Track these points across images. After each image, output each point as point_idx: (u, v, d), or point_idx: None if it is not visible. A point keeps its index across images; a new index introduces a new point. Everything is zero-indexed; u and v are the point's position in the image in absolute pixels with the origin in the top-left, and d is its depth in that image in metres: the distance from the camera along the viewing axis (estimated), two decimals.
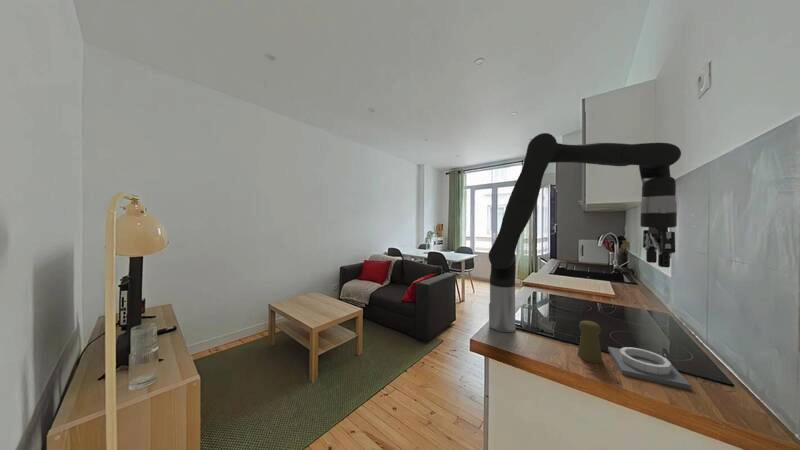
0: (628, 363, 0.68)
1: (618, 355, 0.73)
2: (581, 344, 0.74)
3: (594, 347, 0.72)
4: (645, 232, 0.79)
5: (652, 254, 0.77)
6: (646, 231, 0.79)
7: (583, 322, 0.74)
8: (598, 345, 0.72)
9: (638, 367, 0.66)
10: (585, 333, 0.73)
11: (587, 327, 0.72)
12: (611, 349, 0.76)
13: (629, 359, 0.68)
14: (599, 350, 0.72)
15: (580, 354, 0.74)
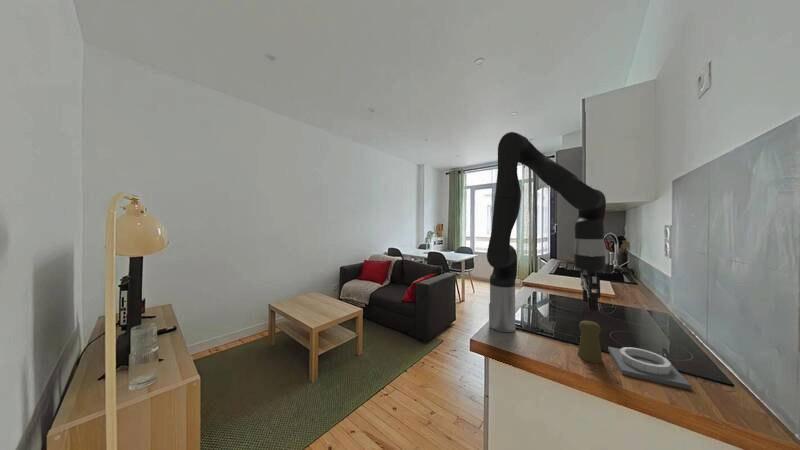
0: (628, 363, 0.68)
1: (618, 355, 0.73)
2: (581, 344, 0.74)
3: (594, 347, 0.72)
4: (582, 271, 0.79)
5: (587, 294, 0.77)
6: (583, 270, 0.79)
7: (583, 322, 0.74)
8: (598, 345, 0.72)
9: (638, 367, 0.66)
10: (585, 333, 0.73)
11: (587, 327, 0.72)
12: (611, 349, 0.76)
13: (629, 359, 0.68)
14: (599, 350, 0.72)
15: (580, 354, 0.74)
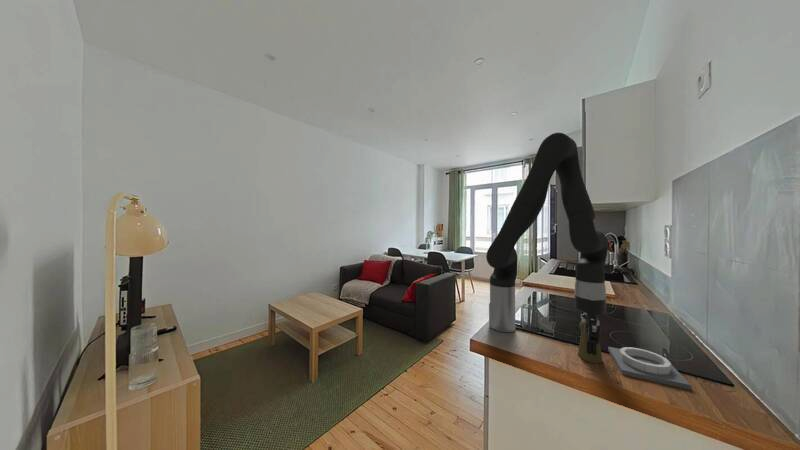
0: (628, 363, 0.68)
1: (618, 355, 0.73)
2: (581, 344, 0.74)
3: None
4: (582, 313, 0.79)
5: None
6: (583, 312, 0.79)
7: None
8: (598, 345, 0.72)
9: (638, 367, 0.66)
10: (585, 333, 0.73)
11: None
12: (611, 349, 0.76)
13: (629, 359, 0.68)
14: (599, 350, 0.72)
15: (580, 354, 0.74)
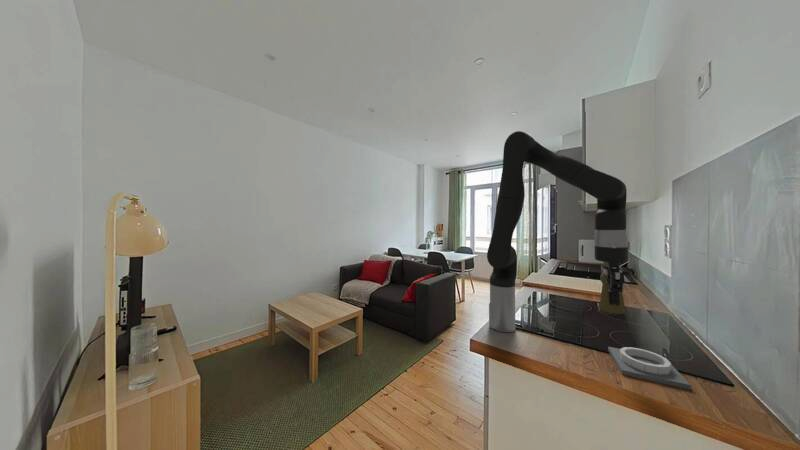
0: (628, 363, 0.68)
1: (618, 355, 0.73)
2: (603, 296, 0.71)
3: None
4: None
5: None
6: (603, 266, 0.77)
7: None
8: (621, 295, 0.69)
9: (638, 367, 0.66)
10: (607, 284, 0.70)
11: None
12: (611, 349, 0.76)
13: (629, 359, 0.68)
14: (622, 300, 0.69)
15: (602, 306, 0.71)
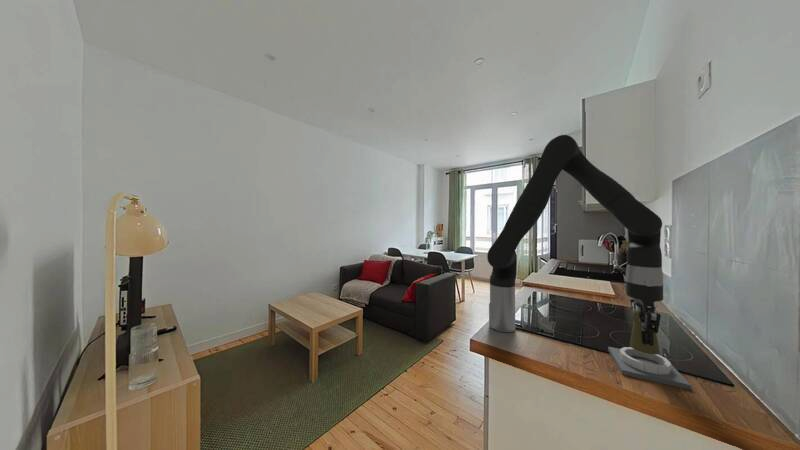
0: (628, 363, 0.68)
1: (618, 355, 0.73)
2: (635, 334, 0.69)
3: None
4: (632, 301, 0.74)
5: None
6: (633, 300, 0.74)
7: None
8: (655, 335, 0.67)
9: (638, 367, 0.66)
10: (640, 323, 0.68)
11: None
12: (611, 349, 0.76)
13: (629, 359, 0.68)
14: (656, 340, 0.66)
15: (634, 345, 0.69)
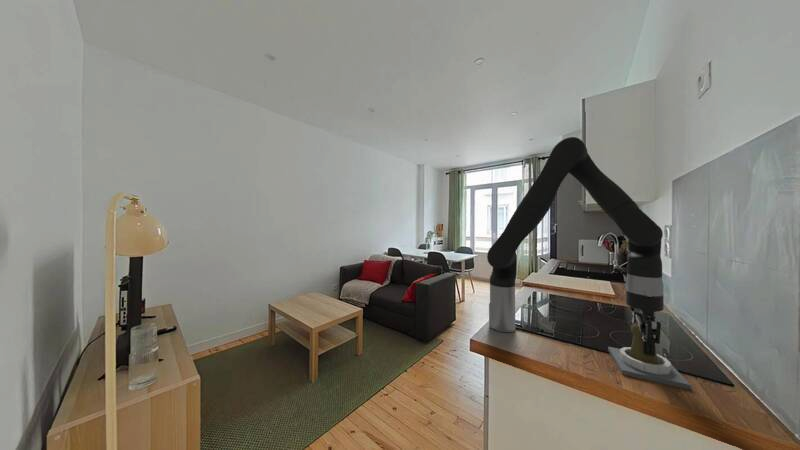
0: (628, 363, 0.68)
1: (618, 355, 0.73)
2: (634, 349, 0.69)
3: None
4: (632, 308, 0.74)
5: None
6: (633, 307, 0.74)
7: (636, 325, 0.69)
8: None
9: (638, 367, 0.66)
10: (639, 337, 0.68)
11: None
12: (611, 349, 0.76)
13: (629, 359, 0.68)
14: (655, 355, 0.67)
15: None
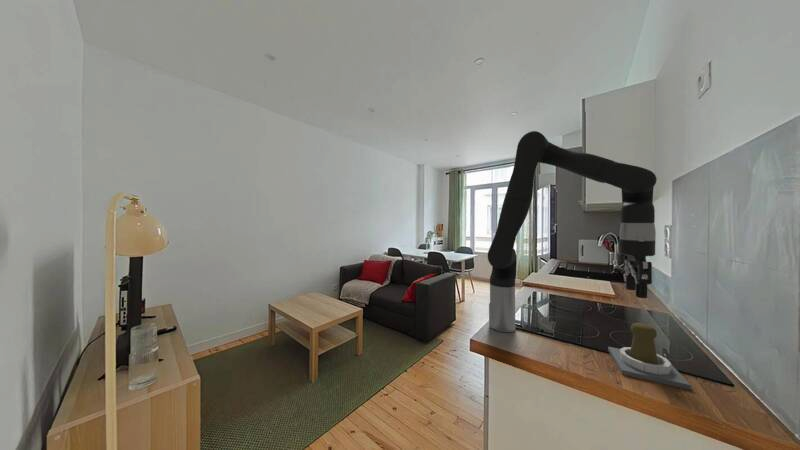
0: (628, 363, 0.68)
1: (618, 355, 0.73)
2: (634, 349, 0.69)
3: (650, 352, 0.66)
4: (625, 258, 0.76)
5: (631, 281, 0.74)
6: (626, 257, 0.76)
7: (636, 325, 0.69)
8: (654, 350, 0.67)
9: (638, 367, 0.66)
10: (639, 337, 0.68)
11: (642, 330, 0.67)
12: (611, 349, 0.76)
13: (629, 359, 0.68)
14: (655, 355, 0.67)
15: None
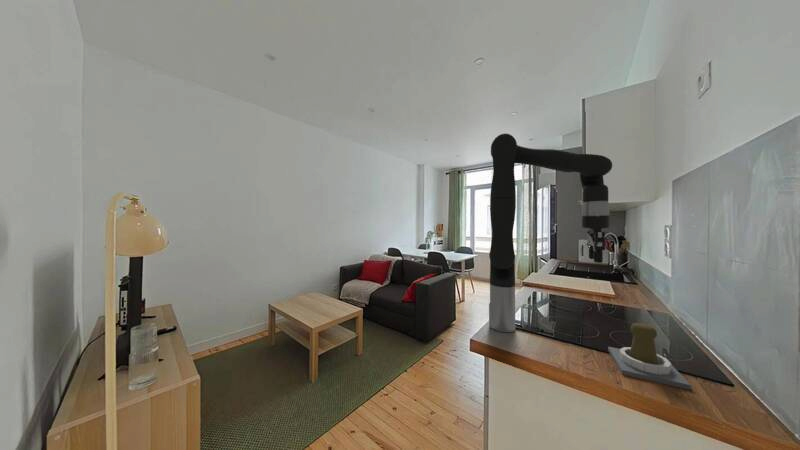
0: (628, 363, 0.68)
1: (618, 355, 0.73)
2: (634, 349, 0.69)
3: (650, 352, 0.66)
4: (588, 232, 0.90)
5: (593, 251, 0.88)
6: (589, 231, 0.90)
7: (636, 325, 0.69)
8: (654, 350, 0.67)
9: (638, 367, 0.66)
10: (639, 337, 0.68)
11: (642, 330, 0.67)
12: (611, 349, 0.76)
13: (629, 359, 0.68)
14: (655, 355, 0.67)
15: None
